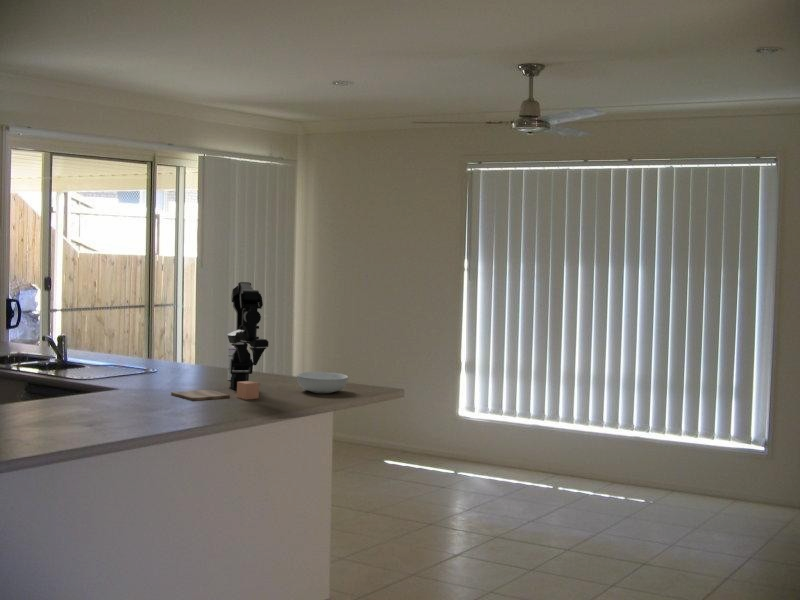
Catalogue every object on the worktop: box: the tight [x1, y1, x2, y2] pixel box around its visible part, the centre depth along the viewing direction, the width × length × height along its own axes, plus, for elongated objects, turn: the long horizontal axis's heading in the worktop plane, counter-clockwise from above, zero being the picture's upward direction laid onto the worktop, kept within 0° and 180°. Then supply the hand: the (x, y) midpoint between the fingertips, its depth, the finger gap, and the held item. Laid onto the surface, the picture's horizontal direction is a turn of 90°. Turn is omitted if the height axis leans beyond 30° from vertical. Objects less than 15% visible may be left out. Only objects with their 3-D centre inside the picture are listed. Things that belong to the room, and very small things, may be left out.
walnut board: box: [170, 389, 231, 402], centre depth 357 cm, size 16×16×1 cm
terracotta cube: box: [236, 380, 260, 400], centre depth 358 cm, size 6×6×6 cm
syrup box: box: [227, 345, 245, 381], centre depth 405 cm, size 6×6×14 cm
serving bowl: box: [296, 371, 349, 394], centre depth 381 cm, size 21×21×7 cm
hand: (248, 363), depth 358 cm, fingers open, 9 cm apart
